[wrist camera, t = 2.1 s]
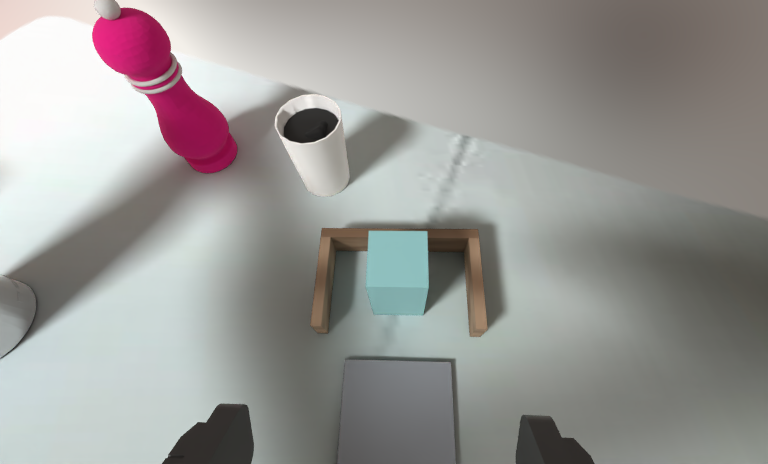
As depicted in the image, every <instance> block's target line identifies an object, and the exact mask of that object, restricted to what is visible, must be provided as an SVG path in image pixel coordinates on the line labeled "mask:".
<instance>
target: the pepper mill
mask: <svg viewBox="0 0 768 464" xmlns="http://www.w3.org/2000/svg"><path fill="white" fill-rule="evenodd" d="M94 7H95V10H96V11H97V13H98V14H99V15H100V16H101V17H100V18H99V19H98V20H97V21H96V24H95V25H94V28H93V33H92V38H93V43H94V46H95V49H96V51H97V53H98V54H99V55H100V57H101V58H102V60H103V61H104V62H105V63H106V64H107V65H108V66H109V67H111V68H112V69H114V70H115V71H117V72H119V73H121V74H124V75H125V78H126V80H127V81H128V82H129V83H131V85H132V87H133V88H134V89H135V90H136V91H138V92H140V93H143V94H145V95H146V96H147V97H148V98H149V100H150V101H151V103H152V104H153V106H154V108H155V110H156V113H157V117H158V121H159V126H160V130H161V133H162V135H163V138H164V140H165V141H166V143H167V144H168V146H169V147H170V148H171V150H172V151H174V152H175V153H176V154H178V155H180V156H182V157H184V158H185V159H186V160H187V162H188V163H189V164H190V165H191V166H192V168H194V169H195V170H197V171H199V172H202V173H214V172H218V171H221V170H222V169H224V168H226V167H227V166H228V165H230V164H231V163H232V161H233V160H234V159H235V157H236V154H237V145H236V143H235V141H234V139H233V138H232V136H231V134H230V133H229V127H228V123H227V120H226V118H225V117H224V116H223V114H222V113H221V112H220V111H219V109H218V108H216V107H215V106H214V105H213V104H212V103H210V102H208V101H207V100H205V99H204V98H202V97H200V96H198V95H197V94H196V93H195V92H194V91H193V90H191V88H190V87H189V86H188V85H187V83H186V82H185V81H184V79H183V77H182V75H181V74H182V67H181V65H180V64H179V63H178V62H177V60H176V57H175V56H174V55H173V54H172V53H171V52H170V51H171V44H170V40H169V37H168V35H167V33H166V31H165V30H164V29H163V28H162V26H161V25H160V24H159V23H158V22H157V21H156V20H155V19H154V18H153V17H151V16H150V15H148V14H147V13H145V12H143V11H140V10H137V9H133V8H120V7H119V5H118V3H117V2H116V1H115V0H95V1H94Z"/></svg>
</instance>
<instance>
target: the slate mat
mask: <svg viewBox="0 0 768 464" xmlns="http://www.w3.org/2000/svg"><path fill="white" fill-rule="evenodd" d="M337 464H456V455H455V435H454V414H453V393H452V372H451V362H426V361H389V360H351V359H345V365H344V378H343V391H342V404H341V418H340V431H339V444H338V458H337Z"/></svg>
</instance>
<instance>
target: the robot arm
mask: <svg viewBox="0 0 768 464" xmlns="http://www.w3.org/2000/svg"><path fill="white" fill-rule="evenodd" d="M35 311H36V298H35V295H34V293H33V291H32V289H31V288H30V287H29V286H28V285H26V284H24V283H22V282H19V281H16V280H14V279H11V278H9V277H6V276H3V275H0V358H1V357H2V356H4V355H5V354H6V353H8V352H9V351H10V350H11V349H13V348H14V347H15V346H16V345H17V344H18V342H19V341H20V340H21V339H22V338H23V336H24V335H25V334H26V332H27V331H28V329H29V327H30V325H31V323H32V321H33V318H34V315H35ZM253 451H254V442H253V436H252V429H251V422H250V416H249V410H248V407H247V405H244V404H219V405H218V406H217V407H216V408H215V410H214V411H213V413H212V414H211V416H210V418H209V419H208V421H207V422H206V423H202V422H198V423H197V424H196V425H194V426H193V427H192V428H191V429H190V430H189V431H187V432H186V433H185V434H184V435H183V436H181V437H180V439H179V440H178V442H177V443H176V445H175V446H174V447H173V449H172V450H171V452H170V453H169V455H168V458H166V459H165V460H164V462H163V463H162V464H251V461H252V457H253ZM516 464H594V462H593V460H592V458H591V456H590V455H589V454H588V453H587V452H586V451H585V450H584V449H583V448H582V447H581V446H580V445H579V443H578V442H577V441H576V440H575V439H574V438H562V437H561V435H560V433H559V431H558V429H557V427H556V425H555V422H554V421H553V419H552V418H551V417H550V416H533V415H523V416H522V417H521V421H520V428H519V436H518V443H517V450H516Z"/></svg>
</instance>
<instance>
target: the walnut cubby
mask: <svg viewBox="0 0 768 464" xmlns="http://www.w3.org/2000/svg"><path fill="white" fill-rule="evenodd" d="M369 231H427V239H428V252H464V263H465V277H466V291H467V305H468V319H469V333H470V337H480V336H481V335H482V334H483V333H484V332H485V331H486V330H487V318H486V308H485V297H484V286H483V276H482V265H481V255H480V244H479V233H478V229H359V228H322V231H321V240H320V248H319V256H318V265H317V273H316V281H315V289H314V298H313V306H312V314H311V323H310V326H311V327H312V328H313V329H314V330H315V331H316V332H317V333H328V329H329V318H330V308H331V298H332V288H333V278H334V267H335V257H336V251H368V236H369Z"/></svg>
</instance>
